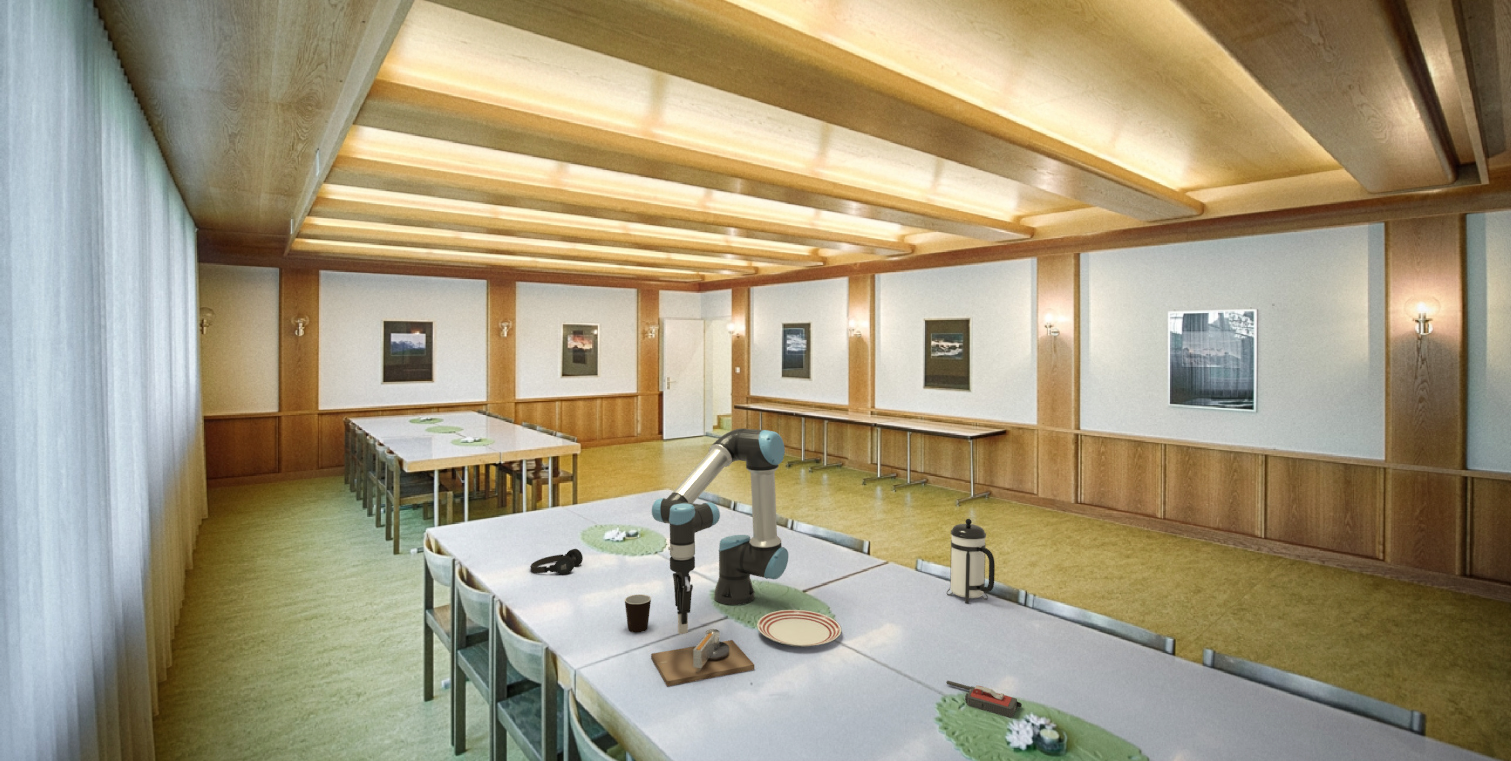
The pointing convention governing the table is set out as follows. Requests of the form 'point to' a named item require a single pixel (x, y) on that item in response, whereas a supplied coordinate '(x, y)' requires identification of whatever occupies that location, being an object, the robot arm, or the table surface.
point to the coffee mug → (637, 612)
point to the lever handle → (709, 649)
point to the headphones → (559, 563)
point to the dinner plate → (799, 628)
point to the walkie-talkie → (989, 700)
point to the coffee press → (969, 562)
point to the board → (680, 668)
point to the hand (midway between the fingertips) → (682, 632)
